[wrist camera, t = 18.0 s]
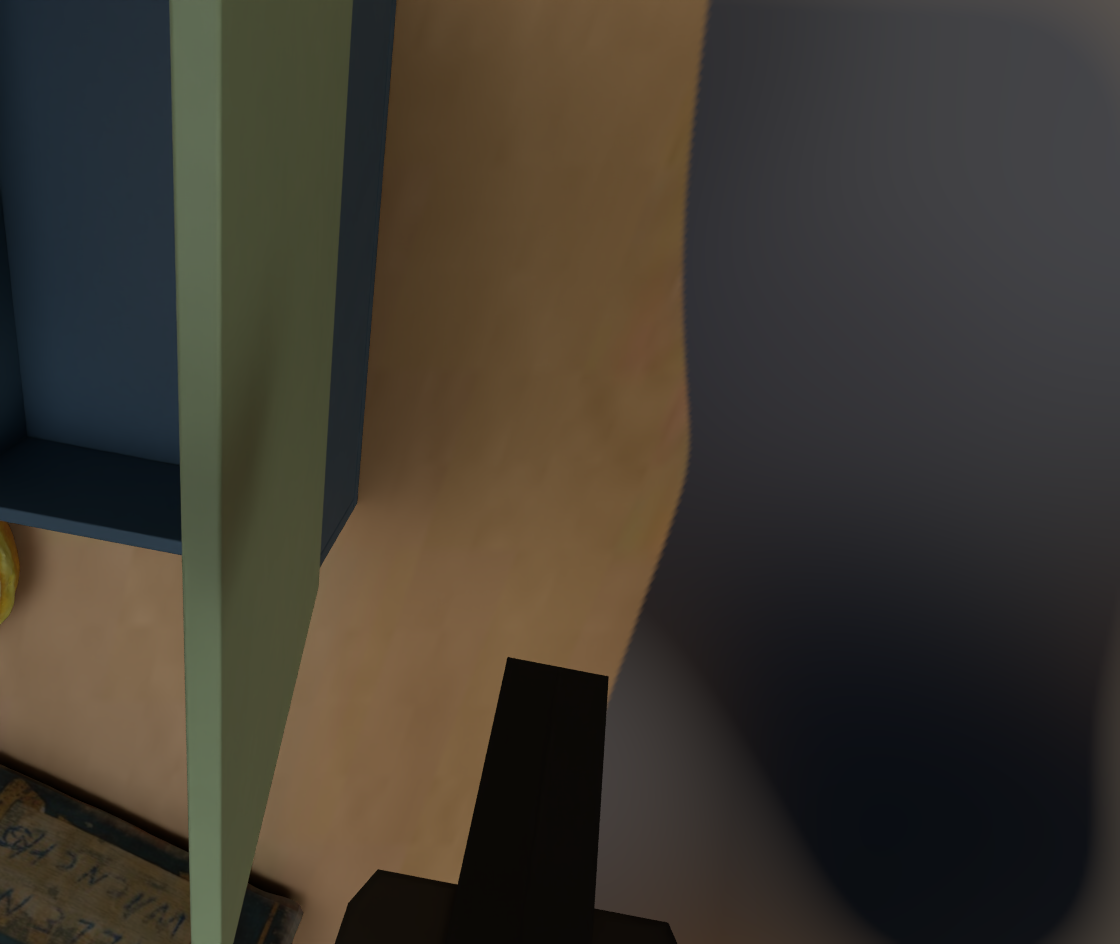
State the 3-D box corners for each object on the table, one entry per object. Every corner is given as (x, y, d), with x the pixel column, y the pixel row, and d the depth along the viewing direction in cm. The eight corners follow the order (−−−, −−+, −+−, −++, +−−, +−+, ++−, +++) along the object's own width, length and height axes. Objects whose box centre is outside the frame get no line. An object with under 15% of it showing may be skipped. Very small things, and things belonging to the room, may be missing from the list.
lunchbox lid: (190, 994, 19) (221, 994, 19) (165, -106, 10) (220, -95, 10) (300, 585, 32) (318, 587, 32) (332, -66, 23) (356, -62, 23)
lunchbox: (23, 440, 37) (-73, 507, 32) (-40, -136, 28) (-187, -165, 23) (357, 503, 37) (312, 580, 32) (400, -52, 28) (348, -63, 23)
